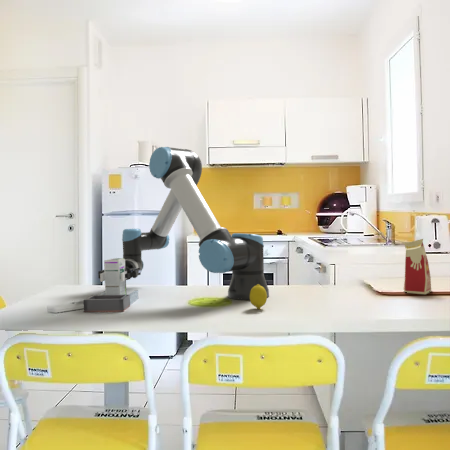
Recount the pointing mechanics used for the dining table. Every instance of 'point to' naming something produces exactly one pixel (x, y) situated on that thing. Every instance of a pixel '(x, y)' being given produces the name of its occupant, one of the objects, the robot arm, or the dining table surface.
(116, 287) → the syrup box
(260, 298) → the lemon
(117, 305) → the trap bin
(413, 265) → the red paper bag
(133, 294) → the guide channel
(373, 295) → the dining table surface
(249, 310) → the dining table surface
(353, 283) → the dining table surface
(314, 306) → the dining table surface
